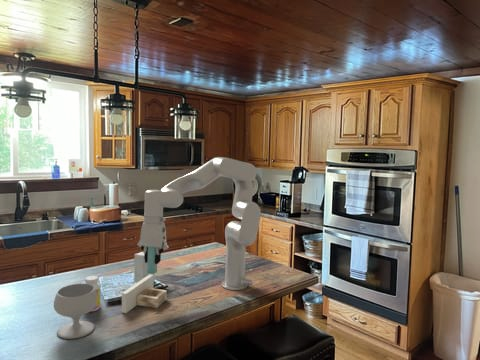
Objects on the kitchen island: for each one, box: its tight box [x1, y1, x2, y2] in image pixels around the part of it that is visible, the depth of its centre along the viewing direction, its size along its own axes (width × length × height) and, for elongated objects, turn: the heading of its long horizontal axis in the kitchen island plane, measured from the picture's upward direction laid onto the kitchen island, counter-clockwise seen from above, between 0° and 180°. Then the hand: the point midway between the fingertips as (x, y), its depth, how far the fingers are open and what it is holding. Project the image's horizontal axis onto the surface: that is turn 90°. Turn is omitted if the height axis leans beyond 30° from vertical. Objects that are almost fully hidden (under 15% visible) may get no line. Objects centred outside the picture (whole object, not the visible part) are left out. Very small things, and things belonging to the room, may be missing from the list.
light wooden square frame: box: [136, 287, 168, 309], centre depth 149 cm, size 9×9×4 cm
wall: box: [121, 274, 155, 314], centre depth 150 cm, size 2×22×8 cm, turn 166°
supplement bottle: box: [84, 275, 101, 313], centre depth 142 cm, size 7×7×13 cm
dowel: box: [147, 246, 158, 275], centre depth 148 cm, size 4×4×12 cm
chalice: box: [53, 283, 98, 340], centre depth 125 cm, size 14×14×15 cm
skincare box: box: [133, 251, 155, 283], centre depth 170 cm, size 8×6×15 cm
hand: (152, 262), depth 148 cm, fingers closed on dowel, 4 cm apart
